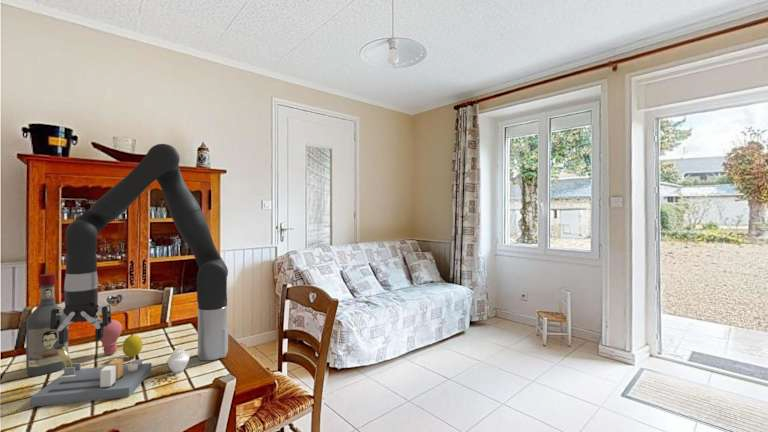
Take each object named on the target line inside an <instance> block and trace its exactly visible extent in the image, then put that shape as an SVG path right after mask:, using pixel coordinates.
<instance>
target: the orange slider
mask: <svg viewBox="0 0 768 432" xmlns="http://www.w3.org/2000/svg"><path fill="white" fill-rule="evenodd" d="M115 365H116V379H119V378H120V377H121V376H122V375H123V365H124V358H118V359H116V358H115V359H112V360H111V361H110V362H109V363H108V366H115Z"/></svg>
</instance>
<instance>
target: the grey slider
mask: <svg viewBox="0 0 768 432" xmlns="http://www.w3.org/2000/svg"><path fill="white" fill-rule="evenodd" d="M103 367H104V368H103V369H102V370H101V371H100V387H108V386H111V385H112V384H113V383H115V382H116V365H115V366H109V365H106V366H103Z"/></svg>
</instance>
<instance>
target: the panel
mask: <svg viewBox="0 0 768 432" xmlns="http://www.w3.org/2000/svg"><path fill="white" fill-rule="evenodd" d="M72 363H73V365H74V367H67V368H66V367H65V368H64V369H63V373H62V374H61V375H59V376H58V377H57V378H55V379H54V380H52V381H51V382H50V383H48V384H47V385H45V386H44V387H43V388H42V389H40V390H39V391H38V392H35V394H33V395H32V396H30V408H34V407H43V406H53V405H62V404H63V405H64V404H72V403H81V402H91V401H101V400H103V401H104V400H110V399H120V398H121V399H122V398H128V397H129V398H130V396H131V395H132V394H133V393H134V392H135V391H136V390H137V389H138V387H139V386H140V385H141V384H142V382H143V381H144V380H145V379H147V377H148V376H149V374H150V373H151V372H152V369H153V366H152V365H153V364H152V362H148V363H147V362H146V363H143V359H142V358H141V359H135V360H132V361H131V363H130V364H123V375H122V376H121V377H120V378H119V379H116V382H115V383H113V384H112V385H111V386H108V387H100V371H101V370H102V369H103V368H104V367H105V366H98V367H85V368H82V362H72Z"/></svg>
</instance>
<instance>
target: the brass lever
mask: <svg viewBox="0 0 768 432" xmlns="http://www.w3.org/2000/svg"><path fill="white" fill-rule="evenodd" d="M64 346H65V343H64V344H61V342H59V341H57V342H55V343H54V345H53V348H54V349H56V350H58V352H59V354H60V356H61V358H62V360H63V362H64V364H65V366H66V367H65V368H67V367H74V365H73V363H74V362H73V361H72V360H71V357H70V355H69V352H68V353H67V351H66V349H65V347H64Z"/></svg>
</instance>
